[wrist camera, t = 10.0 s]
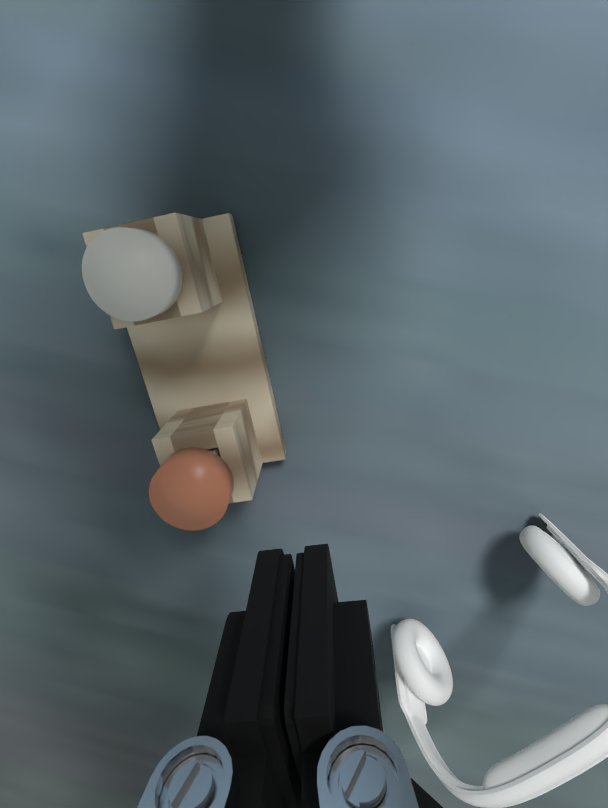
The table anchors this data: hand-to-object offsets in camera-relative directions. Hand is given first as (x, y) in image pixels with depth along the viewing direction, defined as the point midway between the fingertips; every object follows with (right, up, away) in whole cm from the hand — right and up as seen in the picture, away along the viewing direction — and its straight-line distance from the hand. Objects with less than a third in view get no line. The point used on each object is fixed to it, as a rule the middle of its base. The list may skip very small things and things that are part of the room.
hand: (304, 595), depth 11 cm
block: (-8, +9, +26) cm, 29 cm away
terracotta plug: (-7, +1, +26) cm, 27 cm away
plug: (-10, +15, +22) cm, 28 cm away
